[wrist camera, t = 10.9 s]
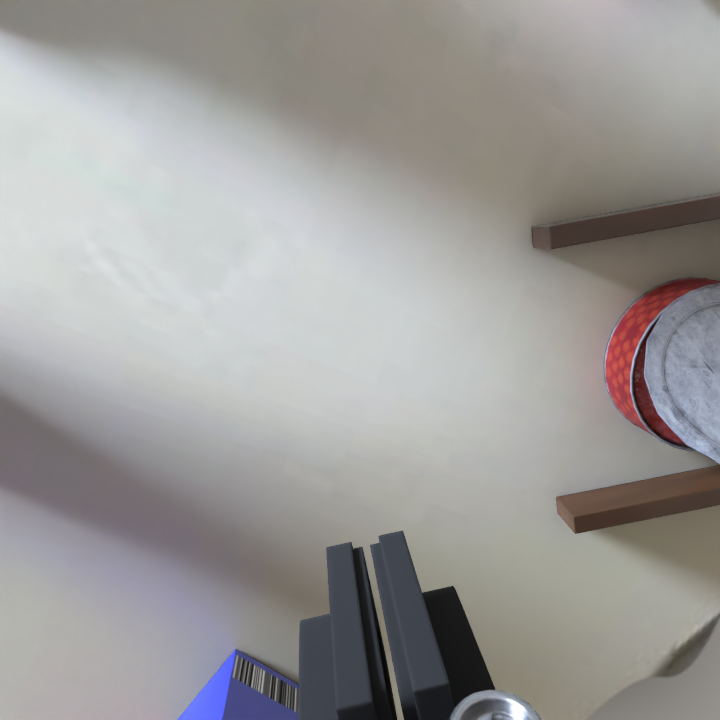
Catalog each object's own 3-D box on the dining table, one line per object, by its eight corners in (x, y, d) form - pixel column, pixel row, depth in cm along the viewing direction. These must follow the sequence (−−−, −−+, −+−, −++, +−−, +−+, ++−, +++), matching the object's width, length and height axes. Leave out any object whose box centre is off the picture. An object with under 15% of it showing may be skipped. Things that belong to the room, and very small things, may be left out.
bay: (531, 226, 31) (549, 226, 29) (786, 180, 32) (825, 176, 29) (557, 513, 36) (575, 534, 33) (780, 469, 36) (814, 486, 34)
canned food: (569, 371, 38) (567, 378, 29) (675, 253, 36) (711, 220, 26) (713, 485, 35) (763, 534, 26) (840, 366, 33) (946, 373, 23)
